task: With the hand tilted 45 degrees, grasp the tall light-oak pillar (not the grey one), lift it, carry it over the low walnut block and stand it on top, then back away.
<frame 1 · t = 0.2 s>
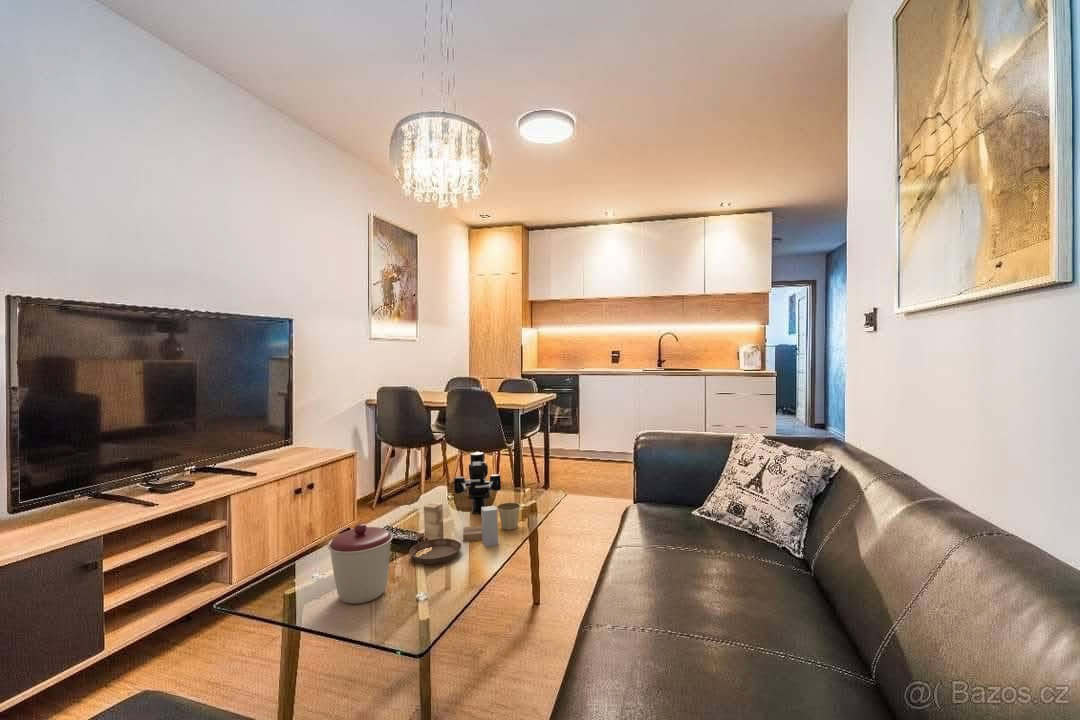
hand: (477, 490, 193), 16 cm above the table, tool horizontal, fingers open, 9 cm apart
plant saucer: (436, 556, 172), on the table
walnut block: (474, 537, 188), on the table
flower pot: (509, 528, 197), on the table
grey pillar: (490, 543, 181), on the table
canister: (362, 595, 145), on the table
oak pillar: (434, 538, 187), on the table
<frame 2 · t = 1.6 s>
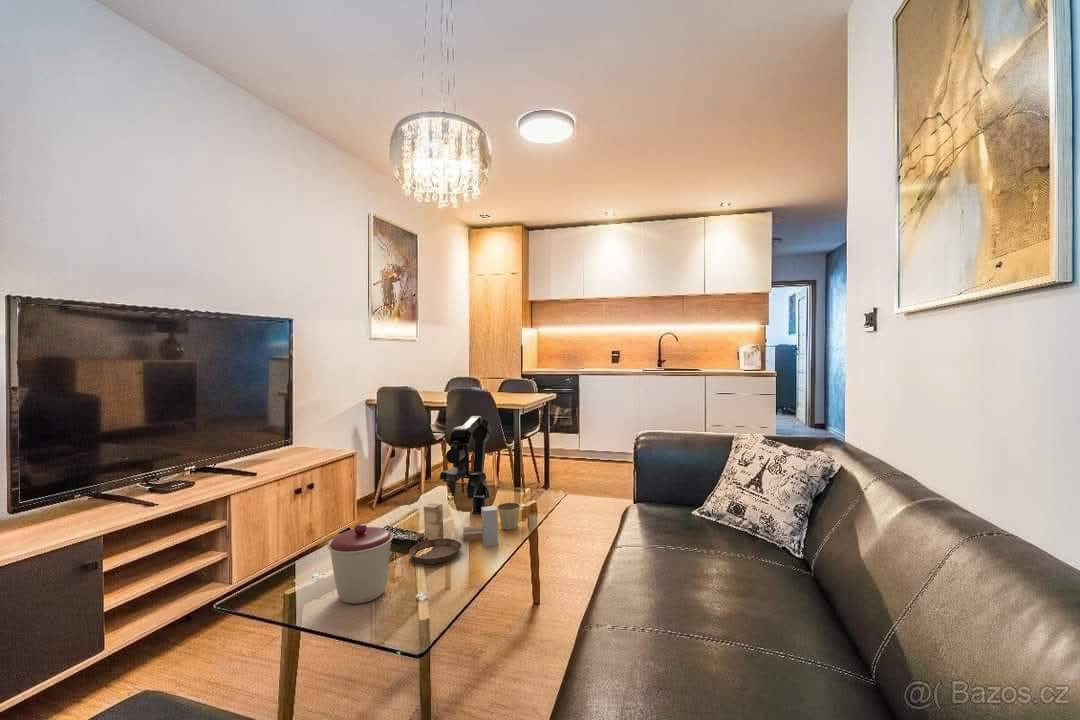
hand: (463, 497, 199), 12 cm above the table, tool pointing down, fingers open, 9 cm apart
nothing on the table moved.
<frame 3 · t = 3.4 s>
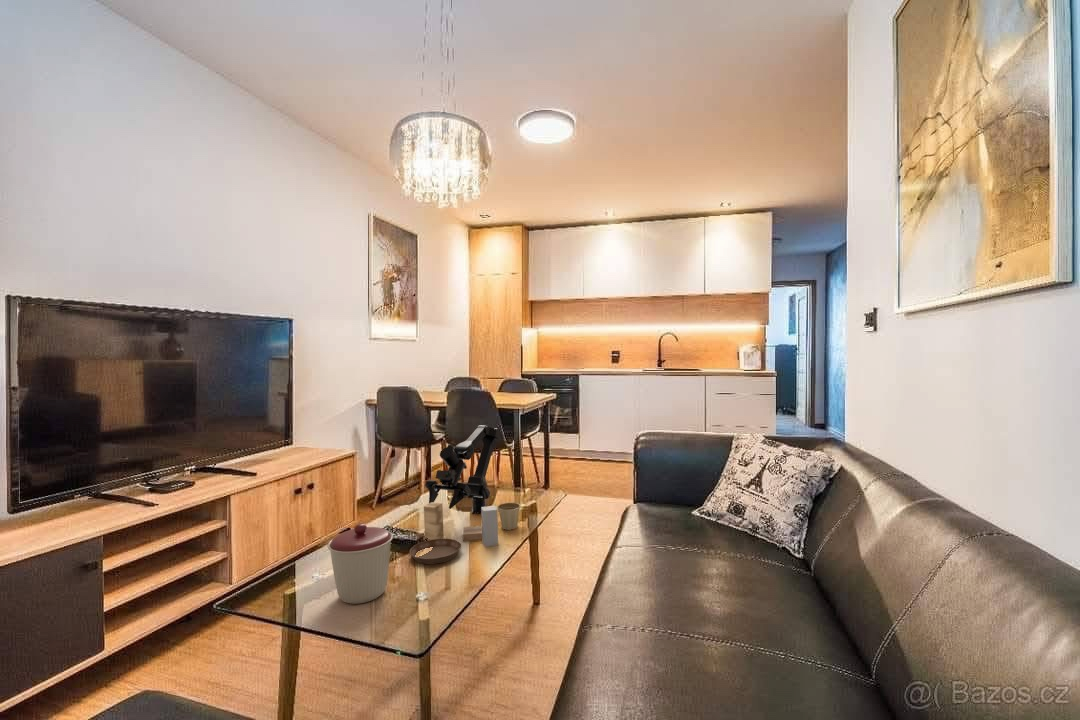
hand: (439, 507, 191), 11 cm above the table, tool tilted 45°, fingers open, 9 cm apart
nothing on the table moved.
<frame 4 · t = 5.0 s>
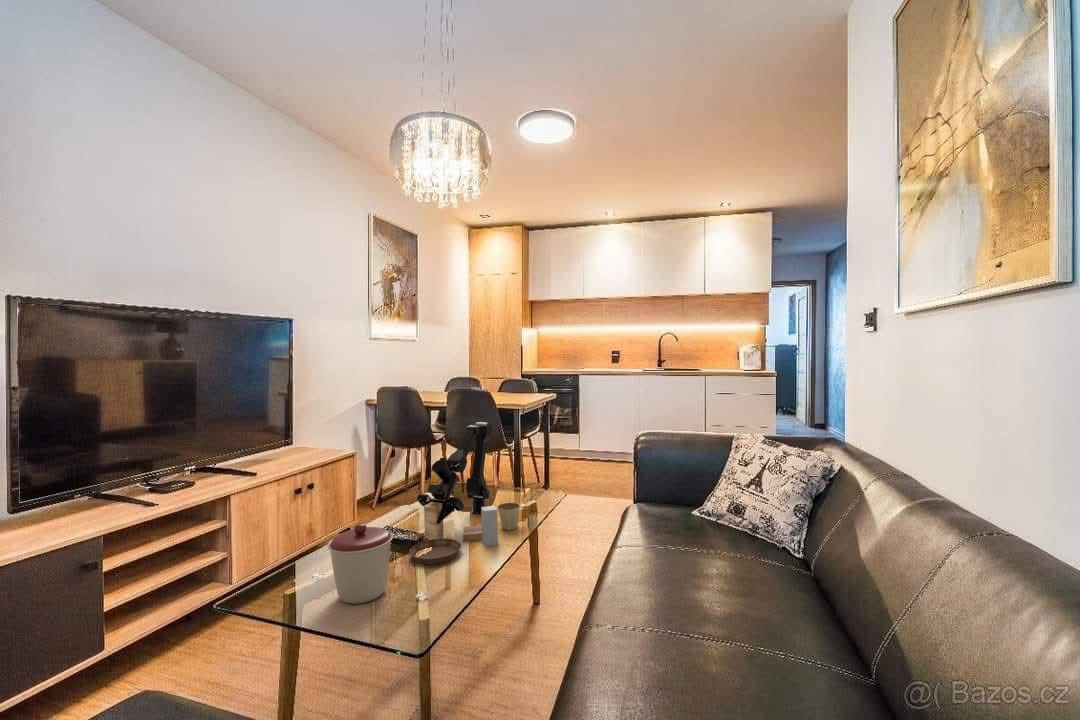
hand: (431, 522, 186), 7 cm above the table, tool tilted 45°, fingers closed on oak pillar, 5 cm apart
oak pillar: (434, 538, 187), on the table, touching gripper
everything else where it was.
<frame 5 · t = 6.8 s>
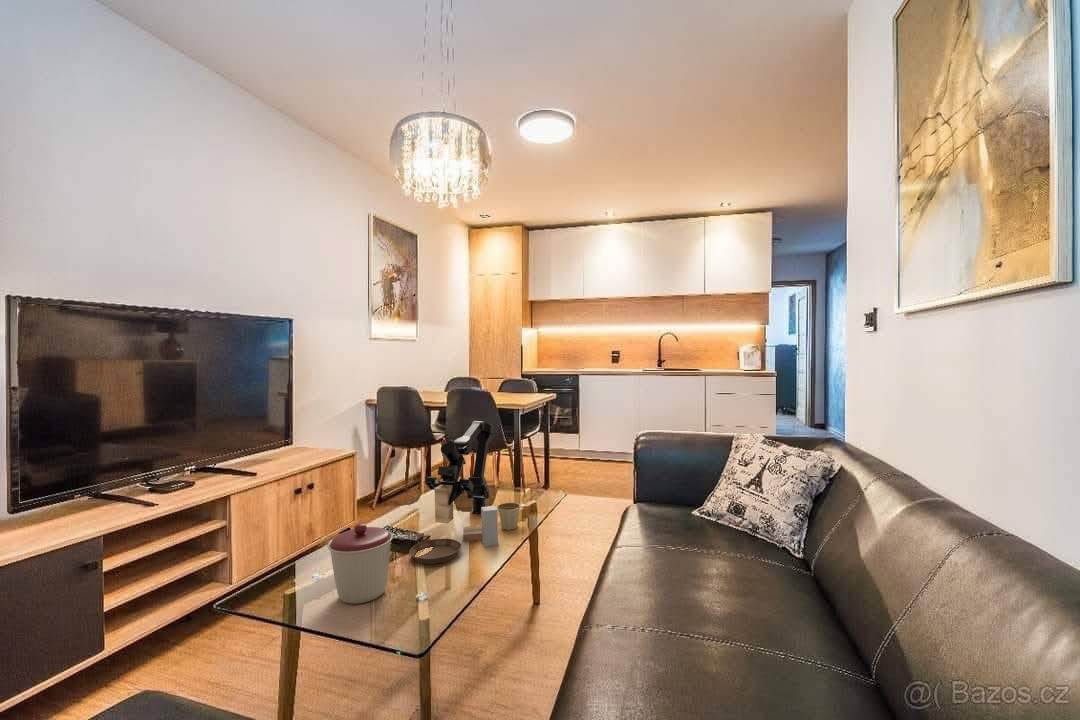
hand: (442, 504, 186), 13 cm above the table, tool tilted 45°, fingers closed on oak pillar, 5 cm apart
oak pillar: (444, 520, 188), point 7 cm above the table, touching gripper
everything else where it was.
when the fingers open (11 cm above the table, at t = 8.6 s): oak pillar drops 1 cm, point 3 cm above the table.
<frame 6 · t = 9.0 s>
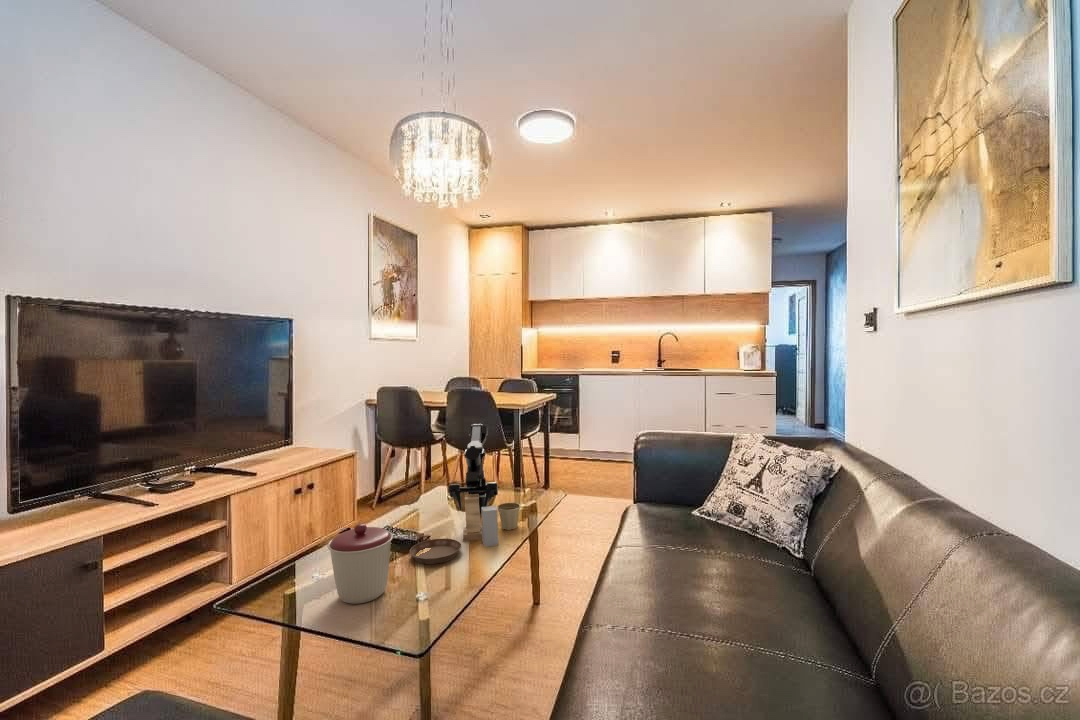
hand: (472, 509, 187), 11 cm above the table, tool tilted 45°, fingers open, 9 cm apart
oak pillar: (473, 529, 188), point 3 cm above the table
everything else where it was.
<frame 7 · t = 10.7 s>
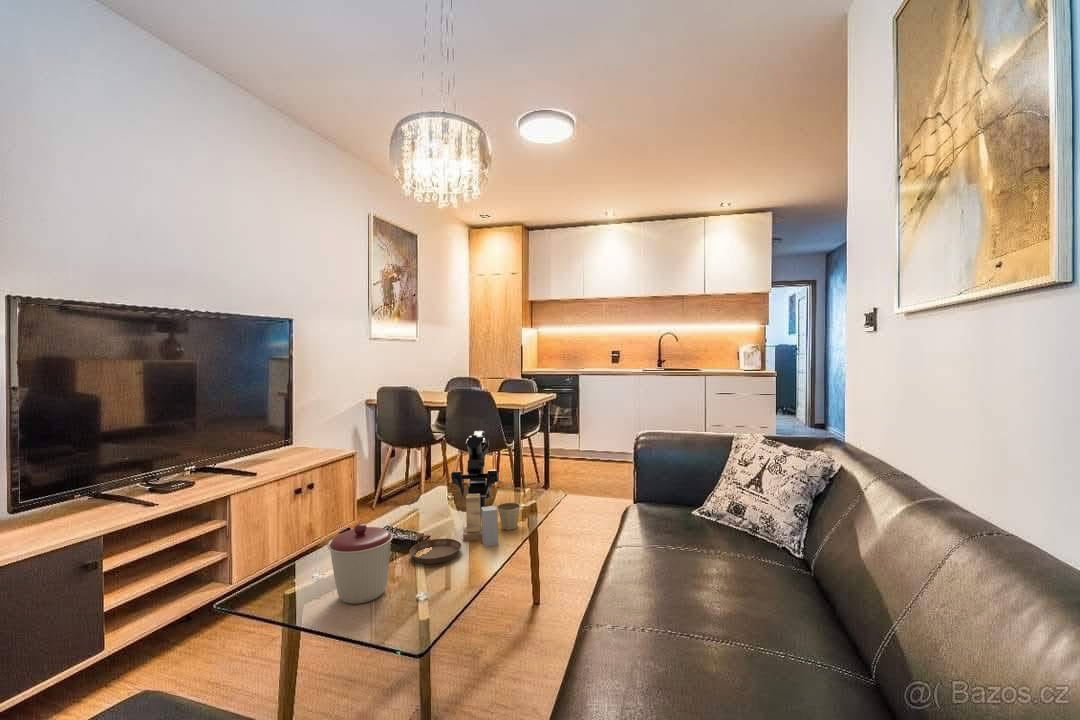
hand: (474, 495, 196), 14 cm above the table, tool tilted 45°, fingers open, 9 cm apart
walnut block: (474, 537, 188), on the table, touching oak pillar
oak pillar: (473, 529, 189), point 3 cm above the table, touching walnut block
everything else where it was.
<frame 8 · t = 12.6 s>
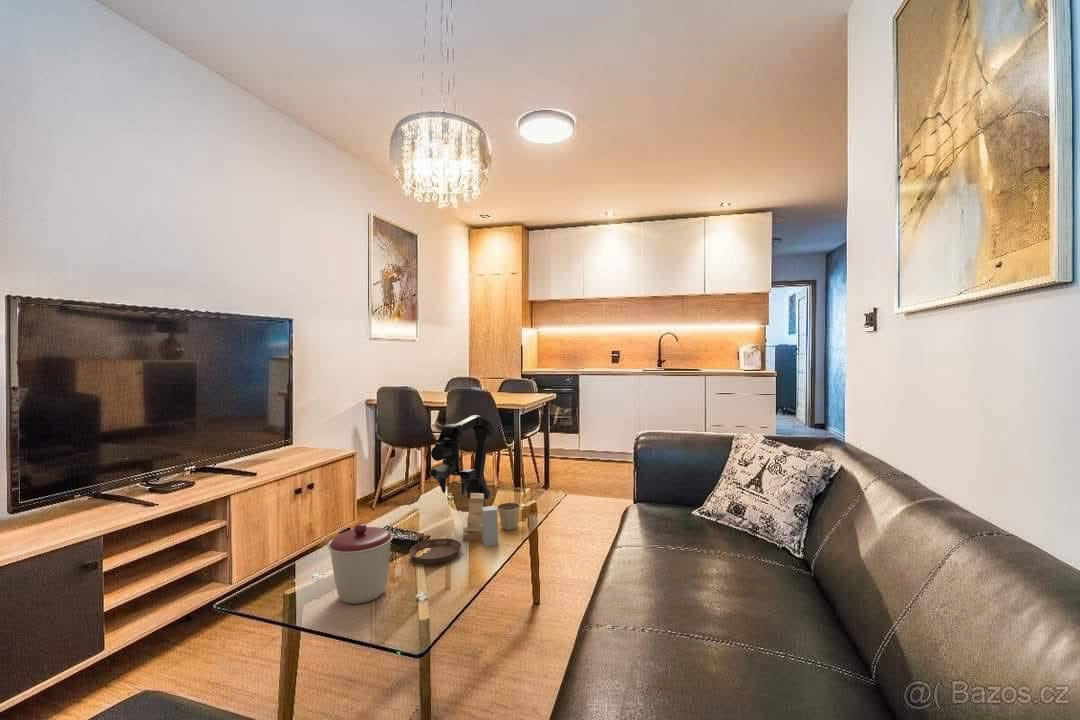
hand: (453, 493, 201), 13 cm above the table, tool pointing down, fingers open, 9 cm apart
oak pillar: (473, 528, 188), point 3 cm above the table, tilted 9°, touching walnut block
everything else where it was.
at the end: oak pillar 0.4 cm off-centre on the walnut block, point 3.4 cm above the walnut block's base; oak pillar tilted 8°; the gripper is holding nothing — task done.
